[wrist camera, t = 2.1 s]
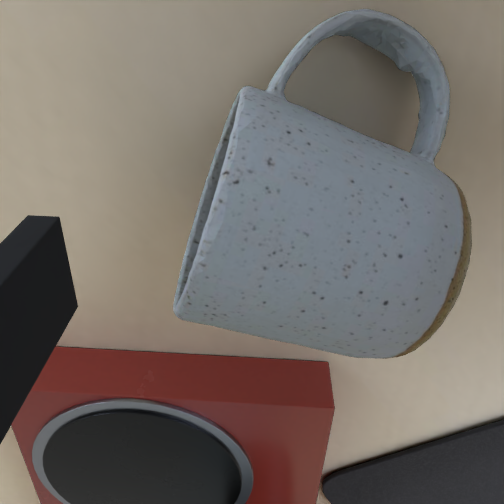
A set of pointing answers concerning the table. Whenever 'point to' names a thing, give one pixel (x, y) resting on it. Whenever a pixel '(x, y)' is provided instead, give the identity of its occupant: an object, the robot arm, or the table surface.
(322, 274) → the ceramic mug
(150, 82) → the table surface
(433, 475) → the mouse pad
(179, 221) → the table surface
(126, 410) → the burner plate
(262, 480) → the hotplate
